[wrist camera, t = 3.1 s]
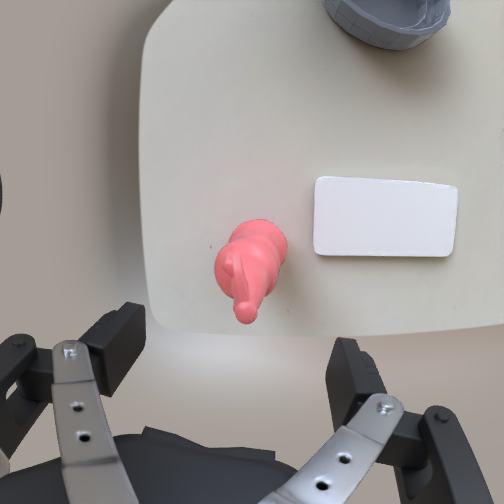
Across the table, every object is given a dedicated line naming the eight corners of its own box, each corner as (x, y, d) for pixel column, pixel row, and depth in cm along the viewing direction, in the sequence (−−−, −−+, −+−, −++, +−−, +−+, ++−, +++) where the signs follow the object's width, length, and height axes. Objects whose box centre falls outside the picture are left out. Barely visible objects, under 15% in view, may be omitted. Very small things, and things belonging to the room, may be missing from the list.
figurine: (225, 217, 29) (177, 271, 15) (279, 206, 28) (284, 251, 14) (237, 269, 30) (205, 359, 16) (290, 259, 30) (301, 346, 15)
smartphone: (315, 175, 27) (458, 186, 25) (314, 175, 27) (455, 185, 26) (313, 255, 29) (451, 257, 27) (312, 253, 29) (448, 255, 28)
